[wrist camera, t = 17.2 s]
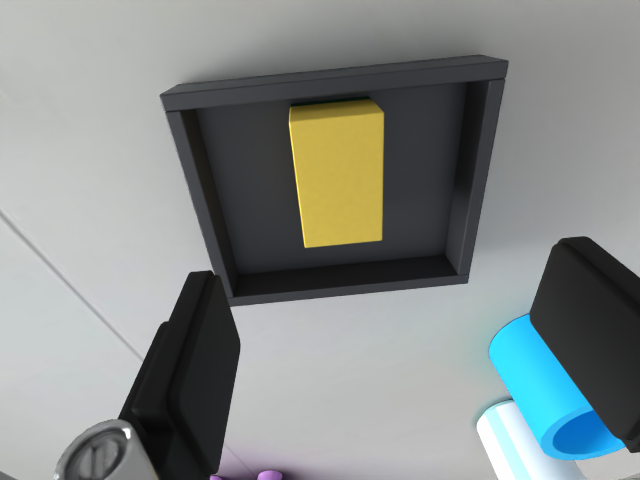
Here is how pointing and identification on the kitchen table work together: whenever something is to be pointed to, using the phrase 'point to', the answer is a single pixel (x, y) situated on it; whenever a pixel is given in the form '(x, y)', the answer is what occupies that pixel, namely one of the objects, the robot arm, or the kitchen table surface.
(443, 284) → the tray
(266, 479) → the teapot
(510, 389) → the mug
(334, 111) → the sponge
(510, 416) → the can
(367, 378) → the kitchen table surface
